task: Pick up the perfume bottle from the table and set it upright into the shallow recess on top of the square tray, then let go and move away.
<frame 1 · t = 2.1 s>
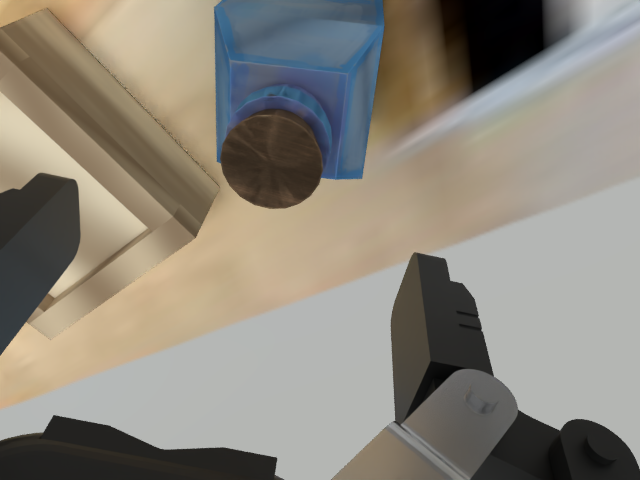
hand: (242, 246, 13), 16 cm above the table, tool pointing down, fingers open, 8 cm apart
square tray: (71, 166, 31), on the table
perfume bottle: (309, 54, 27), on the table
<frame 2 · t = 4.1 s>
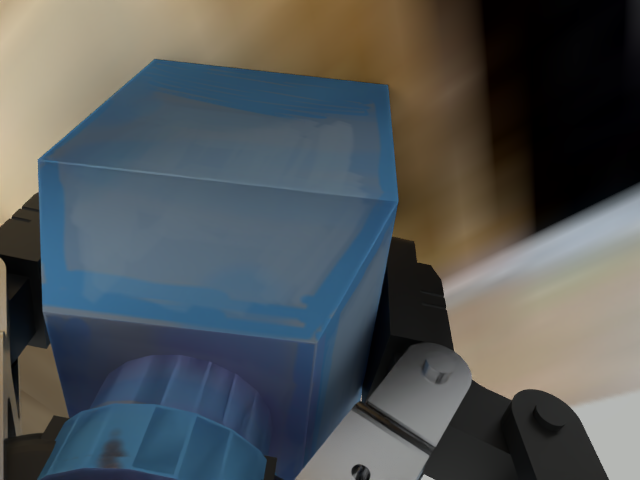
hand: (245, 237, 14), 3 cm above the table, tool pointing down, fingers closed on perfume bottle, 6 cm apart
perfume bottle: (267, 173, 16), on the table, touching gripper
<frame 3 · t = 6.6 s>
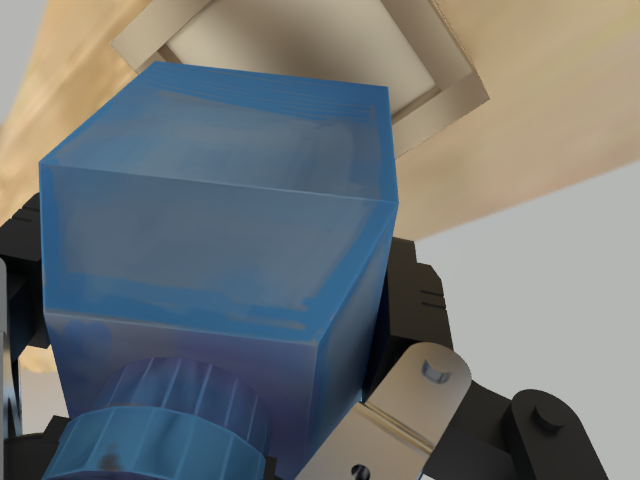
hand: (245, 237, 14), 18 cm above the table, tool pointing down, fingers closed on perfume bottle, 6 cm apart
square tray: (310, 40, 29), on the table
perfume bottle: (268, 175, 16), point 15 cm above the table, touching gripper
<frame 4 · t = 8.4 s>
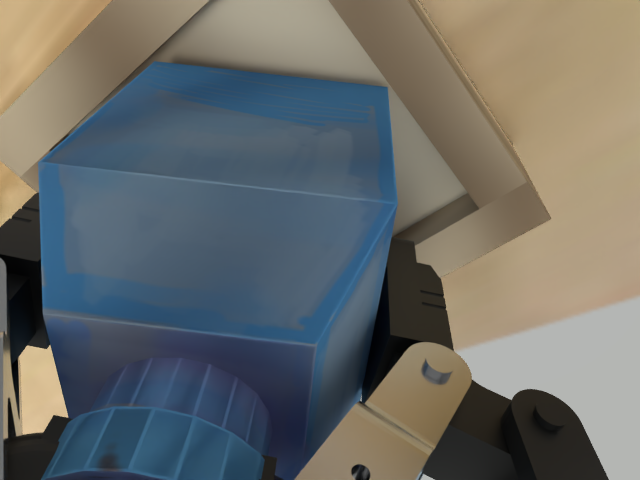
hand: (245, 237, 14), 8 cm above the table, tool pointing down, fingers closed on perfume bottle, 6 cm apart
square tray: (286, 115, 21), on the table
perfume bottle: (267, 175, 16), point 5 cm above the table, touching gripper
when the fingers open (8 cm above the table, at t = 9.5 s): perfume bottle stays where it is, resting on square tray.
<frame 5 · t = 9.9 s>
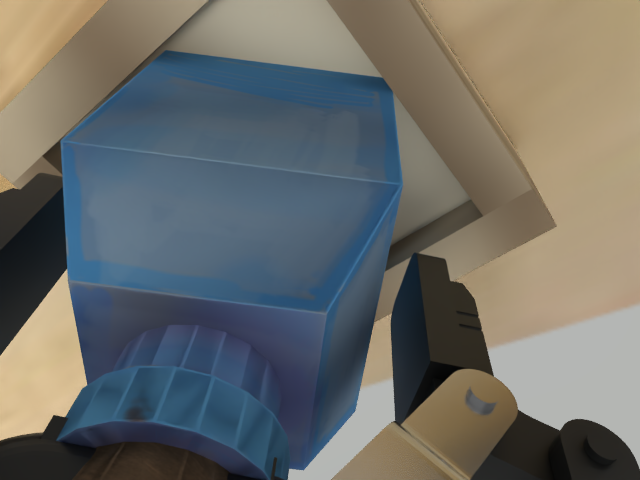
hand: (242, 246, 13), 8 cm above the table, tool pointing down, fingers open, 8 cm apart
square tray: (285, 119, 20), on the table
perfume bottle: (273, 163, 17), point 4 cm above the table, touching square tray
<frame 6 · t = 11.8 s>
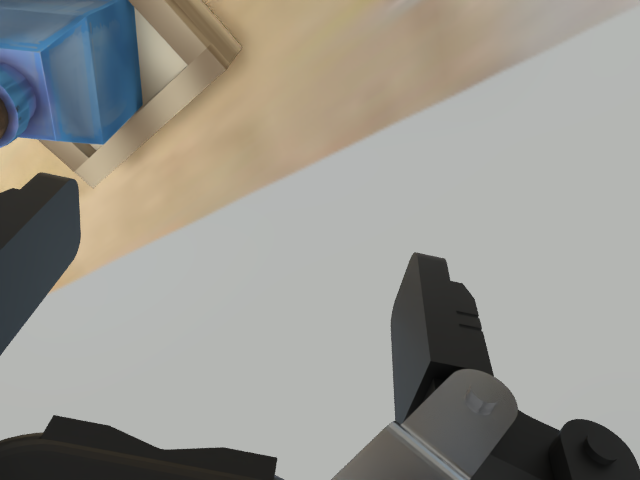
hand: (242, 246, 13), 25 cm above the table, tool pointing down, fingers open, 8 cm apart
square tray: (109, 32, 35), on the table
perfume bottle: (85, 46, 32), point 4 cm above the table, touching square tray
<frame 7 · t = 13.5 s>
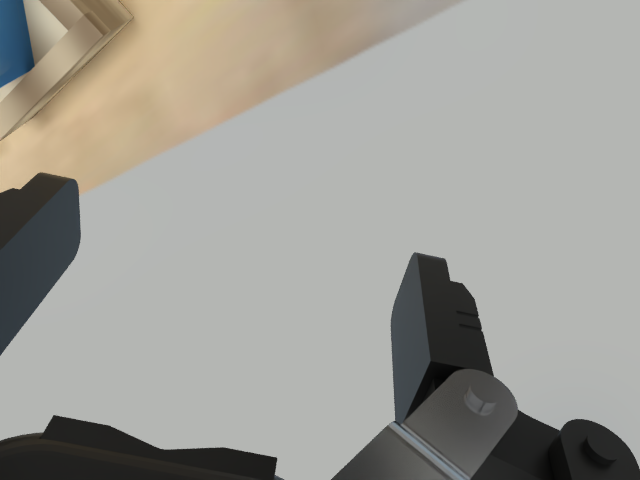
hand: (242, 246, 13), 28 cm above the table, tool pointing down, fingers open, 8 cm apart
square tray: (10, 0, 38), on the table
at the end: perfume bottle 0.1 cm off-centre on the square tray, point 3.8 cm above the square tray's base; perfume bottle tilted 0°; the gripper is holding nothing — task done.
